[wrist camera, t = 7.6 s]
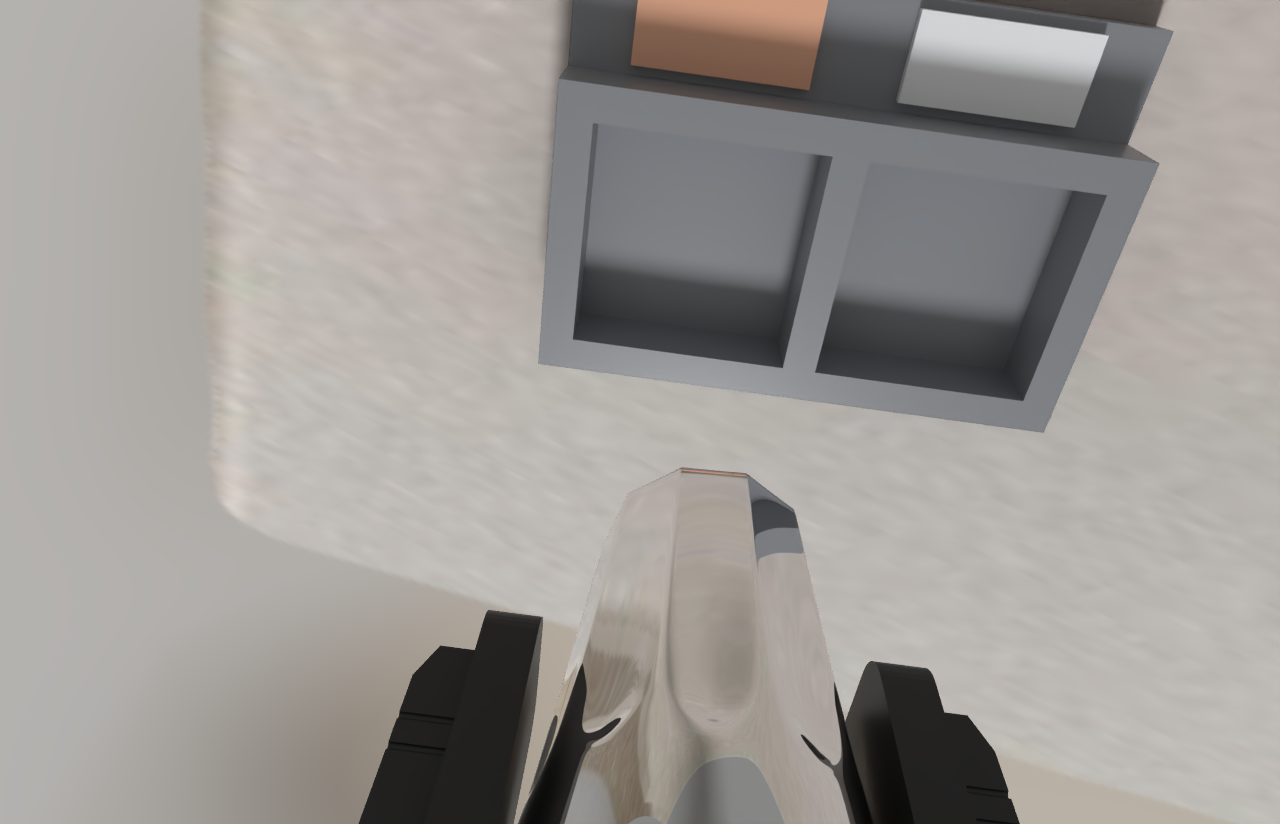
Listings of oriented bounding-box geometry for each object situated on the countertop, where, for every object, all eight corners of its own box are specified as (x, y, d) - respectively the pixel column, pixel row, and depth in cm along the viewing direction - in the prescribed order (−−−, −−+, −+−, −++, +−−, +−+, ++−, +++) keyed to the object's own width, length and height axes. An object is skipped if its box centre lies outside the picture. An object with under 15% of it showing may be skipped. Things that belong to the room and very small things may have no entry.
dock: (1157, 26, 24) (1211, 42, 22) (1014, 386, 30) (1043, 432, 28) (582, -57, 24) (567, -50, 21) (552, 322, 30) (538, 363, 27)
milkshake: (648, 340, 13) (494, 1274, 4) (904, 540, 14) (1186, 1538, 6) (475, 524, 15) (129, 1412, 6) (715, 682, 16) (708, 1578, 8)
